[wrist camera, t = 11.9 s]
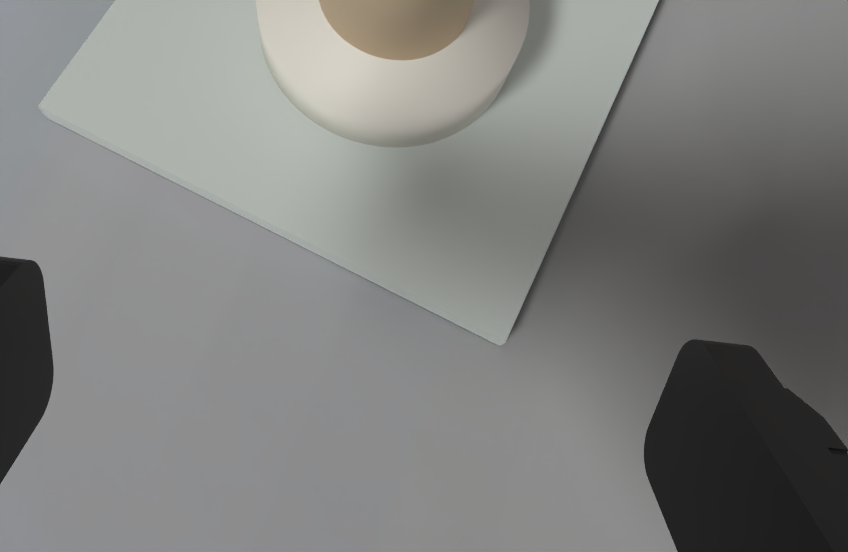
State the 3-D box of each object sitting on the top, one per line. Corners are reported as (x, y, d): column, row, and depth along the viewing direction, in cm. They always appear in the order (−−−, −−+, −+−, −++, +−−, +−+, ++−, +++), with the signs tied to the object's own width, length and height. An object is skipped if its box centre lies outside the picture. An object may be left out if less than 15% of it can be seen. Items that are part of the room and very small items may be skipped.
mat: (47, 118, 17) (38, 105, 17) (291, -220, 21) (290, -240, 20) (499, 345, 17) (505, 341, 17) (666, -27, 21) (677, -40, 20)
